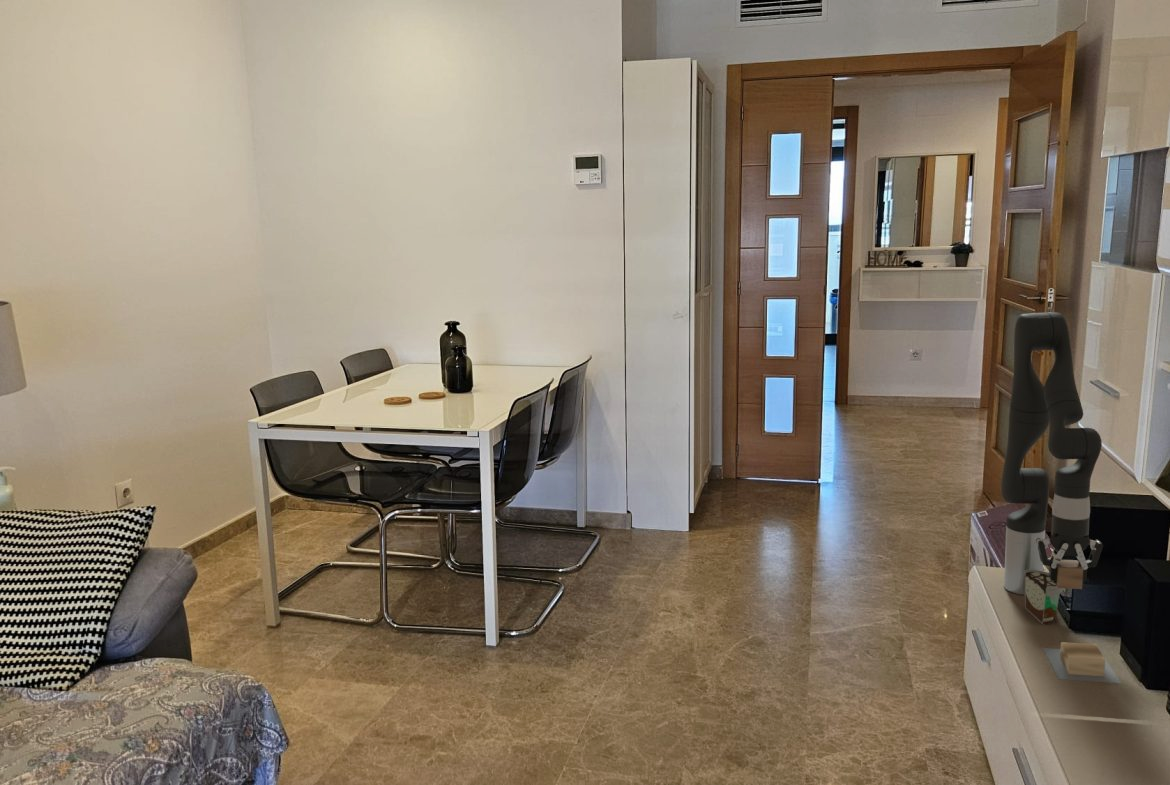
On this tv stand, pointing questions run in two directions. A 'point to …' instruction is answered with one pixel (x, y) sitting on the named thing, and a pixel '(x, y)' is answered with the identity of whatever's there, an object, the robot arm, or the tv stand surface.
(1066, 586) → the walnut cube
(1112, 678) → the build board
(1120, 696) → the tv stand surface
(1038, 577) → the food container
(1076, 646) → the oak base block
